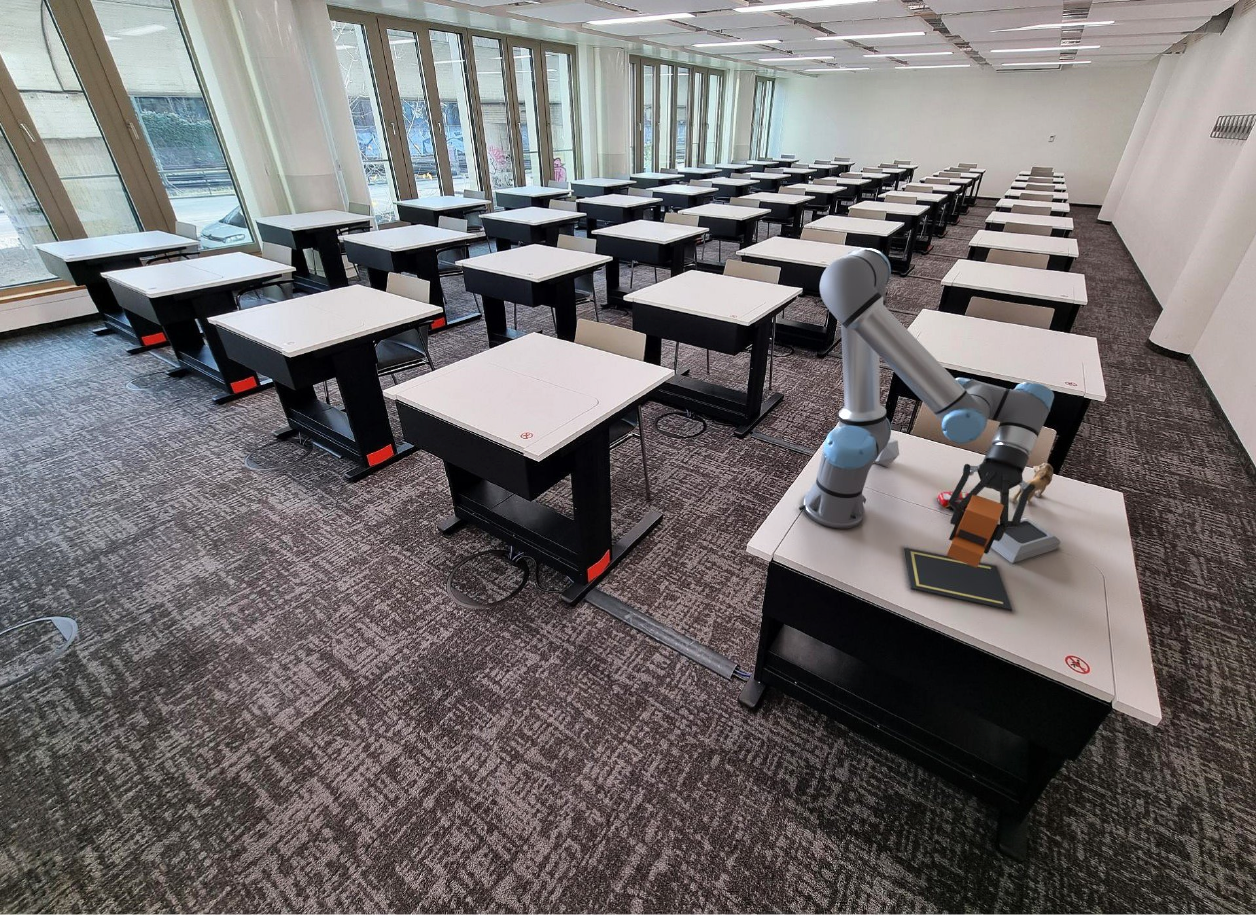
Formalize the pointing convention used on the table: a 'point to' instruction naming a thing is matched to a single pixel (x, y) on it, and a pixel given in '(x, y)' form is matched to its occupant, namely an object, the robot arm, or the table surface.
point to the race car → (945, 497)
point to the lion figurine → (1038, 481)
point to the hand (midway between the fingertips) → (968, 545)
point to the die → (888, 453)
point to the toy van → (975, 530)
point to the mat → (956, 579)
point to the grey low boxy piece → (1025, 541)
